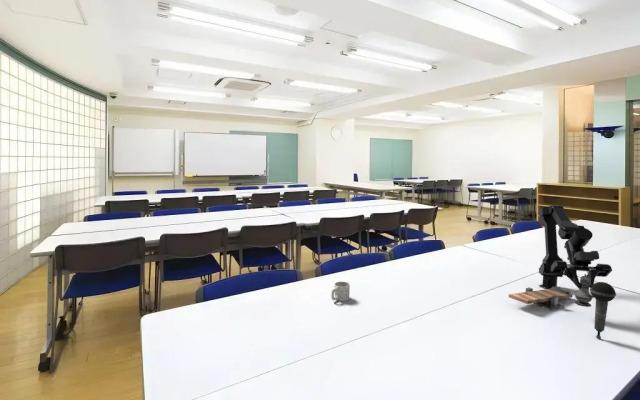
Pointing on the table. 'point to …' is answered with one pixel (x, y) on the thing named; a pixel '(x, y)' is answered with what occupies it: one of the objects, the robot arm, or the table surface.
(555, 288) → the beam
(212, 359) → the table surface
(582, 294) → the grey rounded piece
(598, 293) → the microphone
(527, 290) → the beam stand
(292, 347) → the table surface
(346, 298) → the mug
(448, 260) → the table surface
